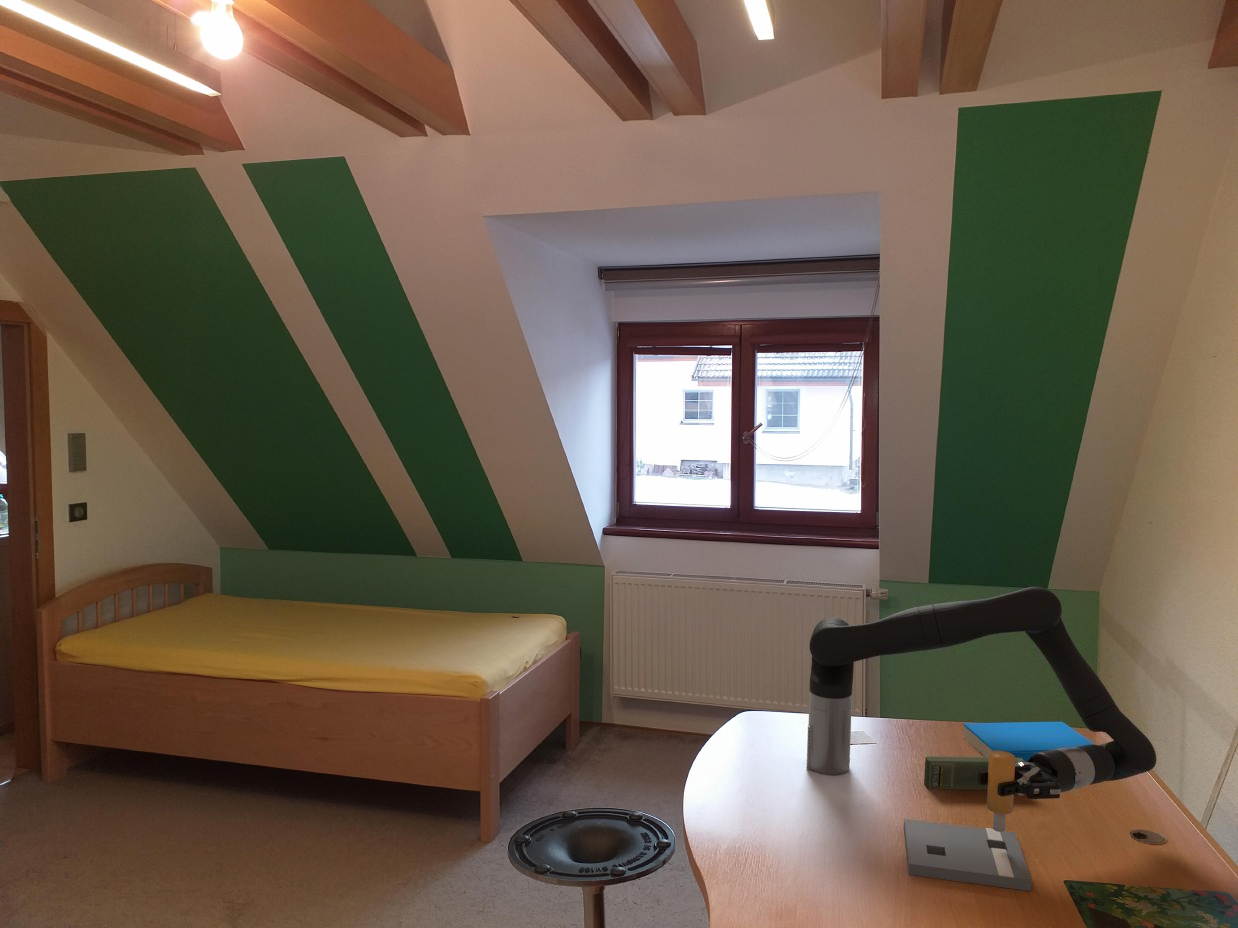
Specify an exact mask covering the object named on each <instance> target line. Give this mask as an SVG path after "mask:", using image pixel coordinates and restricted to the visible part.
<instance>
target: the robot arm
mask: <svg viewBox="0 0 1238 928" xmlns="http://www.w3.org/2000/svg"><path fill="white" fill-rule="evenodd" d="M1062 609H1063V607H1062V604H1061V601H1060V599H1059V597H1058V596H1057V595H1056V594H1055V593H1053V592H1052V591H1051V590H1049V589H1047V588H1044V587H1041V586H1029V587H1025V588H1022V589H1020V590H1016V591H1015V590H1014V591H1011V592H1008V593H1005V594H1000V595H997V596H993V597H989V598H981V599H973V600H958V601H957V600H956V601H949V602H941V603H933V604H932V603H931V604H927V605H921V606H915V607H911V608H906V609H904V610H902V611H899V612H896V613H893V614H890V615H888V616H886V617H884V618H881V619H878V620H876V621H872V622H869V623H868V622H867V623H862V624H852V625H849V623H848V622H847V621H845V620H844V619H841V618H840V617H835V616H834V617H826V618H824V619H822V620H820V621H819V622H818V623H817V624H816V625H815V627H814V628H813V632H812V634H811V636H810V640H809V652H810V655H811V666H810V676H809V693H808V694H809V696H808V697H809V701H808V703H809V704H808V725H807V745H806V746H807V747H806V769H807V770H811V771H813V772H816V773H819V774H823V775H832V776H833V775H834V776H835V775H841V774H845V773H848V771H849V770H850V764H851V763H850V761H851V757H850V756H851V735H852V734H851V733H852V708H853V707H852V705H853V686H854V685H853V683H854V673H855V672H854V666H855V665H854V664H855V663H856V662H859V661H863V660H866V659H871V658H877V657H880V656H888V655H889V656H890V655H899V654H906V653H914V652H920V651H921V652H924V651H930V650H932V651H933V650H938V649H943V648H944V649H945V648H949V647H953V646H957V645H961V644H964V643H968V642H972V641H974V640H979V639H980V638H983V637H987V636H991V635H997V634H1005V633H1019V632H1025V634H1026V635H1027V636H1028V637H1029V638H1030V640H1032V642H1033V643H1034V644H1035V646H1036V647H1037V648H1038V650H1039V651H1040V653H1042V655H1043V656H1044V658H1045V660H1046V661H1047V662H1048V664H1049V666H1050V667H1051V669H1052V671H1053V672H1054V674H1055V676H1056V677H1057V679H1058V681H1059V683H1060V684H1061V686H1062V688H1063V690H1064V692H1065V694H1066V695H1067V697H1068V699H1069V701H1070V702H1071V704H1072V706H1073V707H1074V709H1075V711H1076V712H1077V714H1078V716H1079V718H1081V721H1082V723H1083V724H1084V725H1085V727H1086V728H1087V729H1088V730H1089V731H1091V732H1092V733H1093V732H1094V733H1105V734H1106V735H1108V737H1110V738H1111V739H1112V740H1111V741H1109V742H1105V743H1101V744H1095V745H1093V744H1091V745H1084V746H1078V747H1072V748H1060V749H1054V750H1049V751H1044V752H1039V753H1035V754H1034V755H1032V756H1031V758H1030V759H1029V760H1028V761H1027V762H1017V763H1015V775H1014V780H1013V781H1009V782H1004V783H999V784H998V789H997V794H998V795H999V796H1001V797H1003V796H1009V795H1013V794H1014V795H1018V796H1024V795H1025V796H1026V798H1027V799H1030V800H1047V799H1050V800H1051V799H1060V798H1061V793H1065V792H1066V793H1067V792H1070V791H1075V790H1079V789H1082V788H1084V787H1087V786H1091V785H1095V784H1096V785H1097V784H1100V783H1101V784H1102V783H1104V782H1112V781H1119V780H1124V779H1127V778H1128V779H1129V778H1132V777H1134V776H1137V775H1141V774H1143V773H1148V772H1150V771H1152V770H1153V769H1154V768H1155V767H1156V764H1157V753H1156V750H1155V747H1154V746H1153V744H1152V742H1151V741H1150V739H1149V738H1148V737H1147V736H1146V734H1145V733H1143V731H1141V730H1140V728H1138V727H1137V726H1136V725H1135V724H1134V723H1133V722H1132V721H1131V719H1130V718H1128V717H1127V716H1126V715H1125V714H1124V713H1123V712H1122V711H1121V709H1119V707H1118V706H1117V704H1116V702H1115V700H1114V699H1113V697H1112V695H1111V694H1110V692H1109V691H1108V689H1107V688H1106V686H1105V684H1104V683H1103V682H1102V680H1101V679H1100V678H1099V675H1097V673H1096V672H1095V670H1094V669H1093V668H1092V667H1091V665H1090V664H1089V663H1088V662H1087V661H1086V660H1085V658H1084V657H1083V655H1082V654H1081V653H1080V651H1079V650H1078V648H1077V646H1076V645H1075V644H1074V642H1073V640H1072V638H1071V637H1070V634H1069V633H1068V631H1067V628H1066V625H1065V624H1064V622H1063V619H1062V611H1063V610H1062ZM978 783H979V784H981V785H985V784H988V771H982V772H979V773H978ZM1035 792H1037V793H1035Z"/></svg>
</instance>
